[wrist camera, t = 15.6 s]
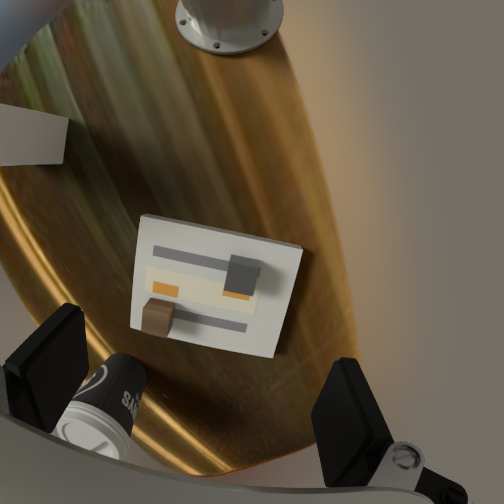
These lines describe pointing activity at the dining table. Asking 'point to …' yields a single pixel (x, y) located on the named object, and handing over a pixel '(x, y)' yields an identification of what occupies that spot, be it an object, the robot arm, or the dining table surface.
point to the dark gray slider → (241, 275)
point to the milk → (31, 137)
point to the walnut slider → (157, 317)
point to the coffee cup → (106, 408)
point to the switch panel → (213, 284)
